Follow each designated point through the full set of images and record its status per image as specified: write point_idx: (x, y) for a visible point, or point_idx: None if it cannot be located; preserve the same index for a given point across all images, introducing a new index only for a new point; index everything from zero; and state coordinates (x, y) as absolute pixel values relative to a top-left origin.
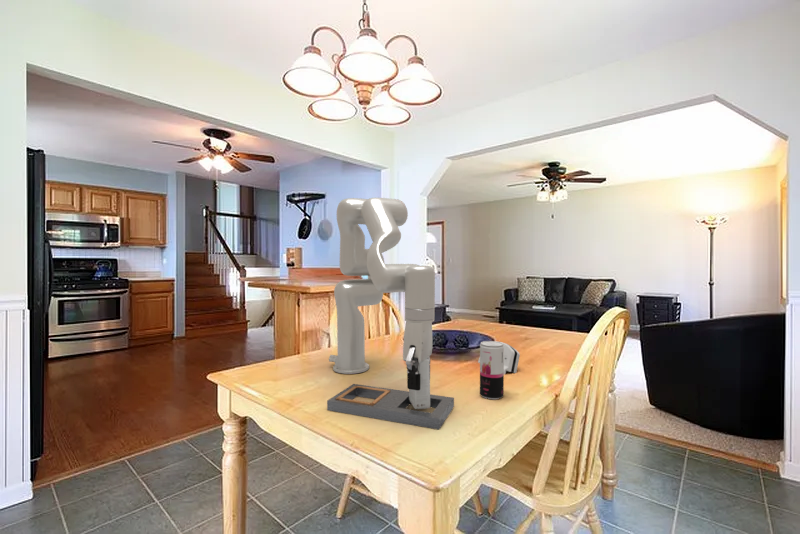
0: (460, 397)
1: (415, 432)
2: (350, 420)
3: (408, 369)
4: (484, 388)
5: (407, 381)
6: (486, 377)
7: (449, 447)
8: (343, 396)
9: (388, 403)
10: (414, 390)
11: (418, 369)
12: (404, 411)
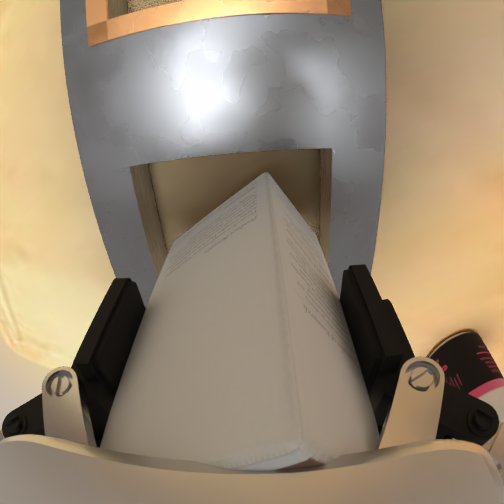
0: (439, 295)
1: (91, 267)
2: (39, 16)
3: (19, 415)
4: (444, 370)
5: (100, 308)
6: None
7: None
8: None
9: (150, 96)
10: (149, 300)
11: (99, 446)
12: (112, 221)
